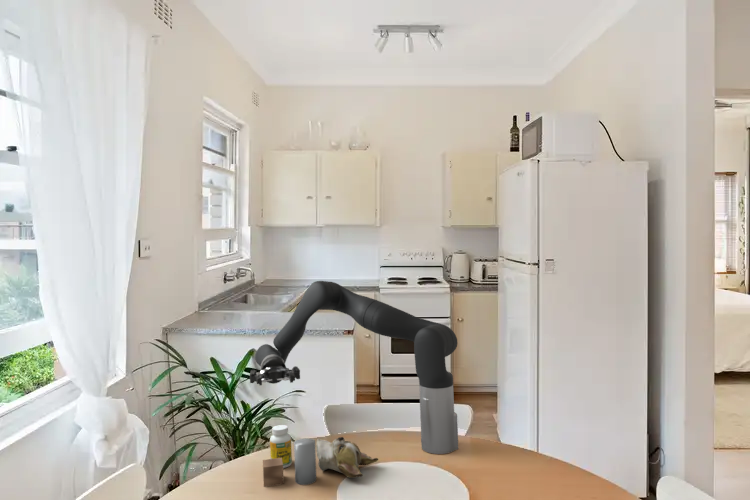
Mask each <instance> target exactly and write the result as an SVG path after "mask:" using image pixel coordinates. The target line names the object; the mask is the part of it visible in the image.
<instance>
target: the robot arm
mask: <svg viewBox="0 0 750 500" xmlns="http://www.w3.org/2000/svg"><path fill="white" fill-rule="evenodd" d="M319 310H320V311H323V310H324V311H325V310H326V311H336V312H339V313H342V314H345V315H347V316H349V317H351V318H352V319H353V320H354V321H355V322H356V323H357V324H358V325H359V326H361V327H362V328H364V329H366V330H368V331H370V332H373V333H375V334H376V335H381V336H384V337H387V338H394V339H402V340H406V341H411V342H413V343H414V344H413V346H414V347H413V350H414V351H413V352H414V353H413V354H414V363H415V371H416V372H415V373H416V376H417V378H418V382H419V383H418V384H419V411H420V412H419V414H420V418H419V419H420V437H421V438H420V441H421V442H420V443H421V444H420V445H421V450H423V451H424V452H427V453H428V454H435V455H443V454H449V453H452V452H454V451H455V450H459V431H458V429H459V427H458V426H459V425H458V414H457V412H455V402H454V401H455V400H454V399H455V398H454V378H453V377H454V375H453V373H452V372H450V371H448V370H447V365H446V358H447V357H448V356H450V355H451V354H453V353H454V352H455V351H456V349H457V347H458V338H457V335H456V332H455V331H454V330H453V329H452V328H450V327H449V326H447V325H445V324H443V323H439V322H435V321H431V320H428V319H424V318H420V317H418V316H415V315H412V314H410V313H409V312H406V311H404V310H401V309H399V308H396V307H394V306H392V305H390V304H387V303H385V302H383V301H381V300H378V299H374V298H372V297H369V296H365V295H361V294H358V293H356V292H354V291H351V290H349V289H348V288H346V287H345V286H342V285H341V284H339V283H337V282H334V281H326V280H317V281H313V282H312V283H311V284H310V285H309V286H308V287H307V289H306V291H305V292H304V294H303V296H302V297H301V299H300V301H299V302H298V305H297V307H295V309H294V312H293V313H292V315H291V316H290V318H289V319H288V320H287V322H286V323H285V325H284V326H283V327H282V328H281V329H280V330H279V332H278V333H277V334H276V335H275V337H274V338H273V346H272V345H270V344H268V343H265V344H262V345H260V346H259V347H258V349H256V352H255V355H254V360H255V362H256V363H257V365H258V366H260V371H258V372H257V370H255V369H251V370H250V372H249V383H250V384H254V383H255V382H256V384H257V385H259V386H262V385H263V383H268V384H278V383H280V382H282V381H285V382H286V381H289V383H290V384H291V383H294V382H295V381H296V380H300V379H301V369H300V368H299V367H298V366H293V367H292V368H291V369H290V368H289V367H287V366H286V362H287V359H288V357H289V356H290V355H289V354H290V353H291V351H293V349H294V348H295V346H296V345H297V344H298V343H299V342H300V341H301V339H302V338H303V336H304V334H305V331H306V326H307V323H308V321H309V320H310V318H311V317H312V316H313V315H315V314H316V313H317V312H318V311H319Z"/></svg>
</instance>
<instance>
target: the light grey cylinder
mask: <svg viewBox="0 0 750 500" xmlns="http://www.w3.org/2000/svg"><path fill="white" fill-rule="evenodd" d="M293 446H294V447H293V451H294V481H295V484H297V485H300V486H301V485H302V486H307V485H311V484H313V483H315V482H316V481H317V460H316V459H317V449H316V440H315V439H314V438H309V437H304V438H299V439H296V440H295V441H294V442H293Z"/></svg>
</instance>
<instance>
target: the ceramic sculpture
mask: <svg viewBox="0 0 750 500" xmlns="http://www.w3.org/2000/svg"><path fill="white" fill-rule="evenodd" d="M315 443H316V444H315V448H316V458H317V459H318V464H317V465H318V467H319V470H320V471H322V472H323V471H327V470H334V471H335V472H339V473H341V474H343V475H344V476H345V477H347V478H354V479H355V478H359V477H363V476H364V474H363V473H361V470H360V467H359V466H368V465H371V464H374V463H375V462H378V461H379V458H377V457H373V458H372V457H371V456H369V455H367V454H366V453H365V452H362V451H361V449H360V447H359V446H358V445H357V443H355V442H351V441H347V440H345V438H344V437H343V436H340V437H338V438H335V439H334V440H332V442H330V441H328V440H326V439H325V440H324V439H321V438H317V439H316V440H315Z"/></svg>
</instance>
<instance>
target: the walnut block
mask: <svg viewBox="0 0 750 500" xmlns="http://www.w3.org/2000/svg"><path fill="white" fill-rule="evenodd" d="M262 479H263V487H264V488H265V487H270V486H277V485H278V486H279V485H283V484H284V468H283V462H282V458H275V459H271V458H269V459H262Z"/></svg>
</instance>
